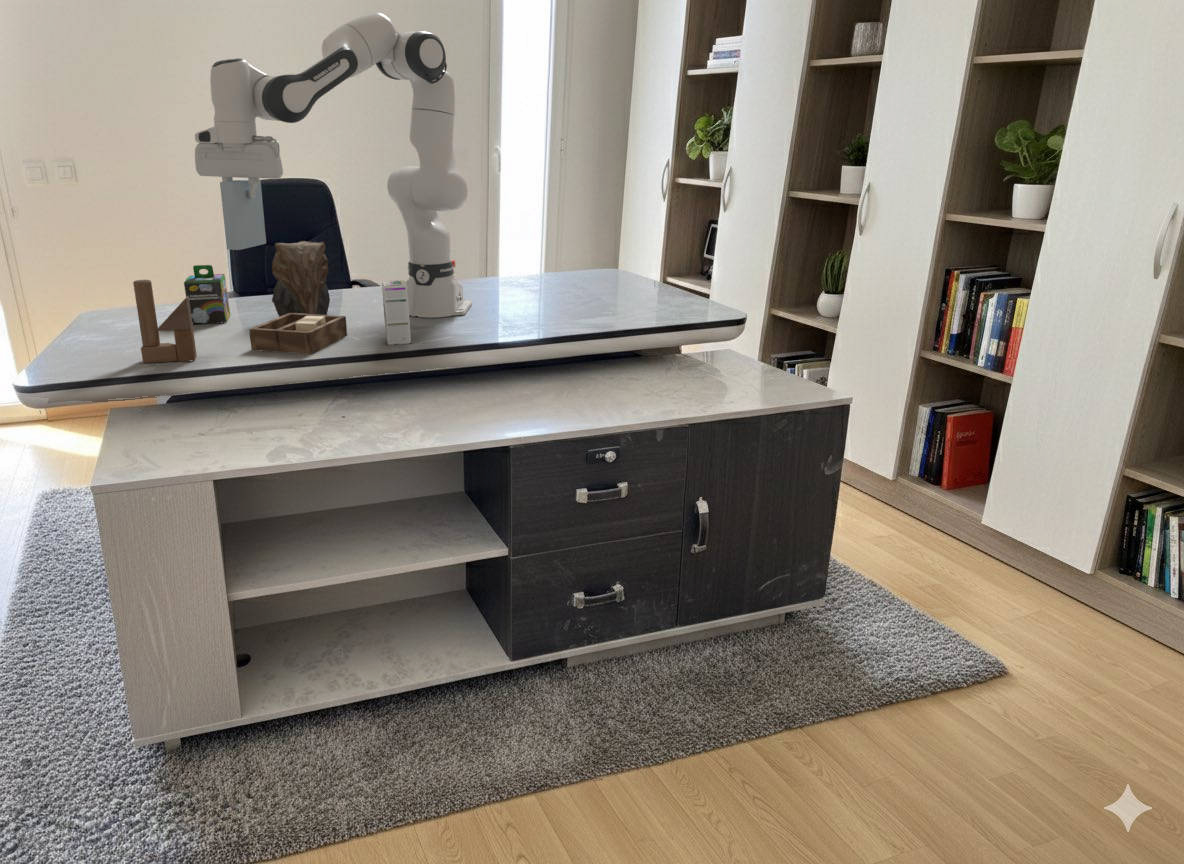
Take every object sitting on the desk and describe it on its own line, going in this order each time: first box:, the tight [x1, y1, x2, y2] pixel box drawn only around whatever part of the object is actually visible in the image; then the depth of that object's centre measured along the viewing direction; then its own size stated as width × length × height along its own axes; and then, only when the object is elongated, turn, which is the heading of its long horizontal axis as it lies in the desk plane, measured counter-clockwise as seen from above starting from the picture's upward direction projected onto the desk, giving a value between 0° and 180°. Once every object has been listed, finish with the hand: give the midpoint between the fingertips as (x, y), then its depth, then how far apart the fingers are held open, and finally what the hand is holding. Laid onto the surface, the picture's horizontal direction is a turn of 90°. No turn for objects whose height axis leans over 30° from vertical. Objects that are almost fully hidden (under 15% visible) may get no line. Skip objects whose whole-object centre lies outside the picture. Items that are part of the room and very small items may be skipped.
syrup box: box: [381, 280, 412, 346], centre depth 224 cm, size 6×6×14 cm
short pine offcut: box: [295, 316, 326, 332], centre depth 222 cm, size 8×5×2 cm, turn 178°
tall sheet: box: [219, 178, 267, 251], centre depth 216 cm, size 12×3×15 cm, turn 169°
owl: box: [271, 240, 331, 317], centre depth 247 cm, size 13×13×20 cm
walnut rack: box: [248, 313, 348, 355], centre depth 224 cm, size 18×15×5 cm
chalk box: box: [183, 264, 231, 324], centre depth 243 cm, size 9×9×15 cm
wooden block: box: [132, 279, 197, 364], centre depth 205 cm, size 4×11×18 cm, turn 105°
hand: (242, 197), depth 215 cm, fingers closed on tall sheet, 3 cm apart
